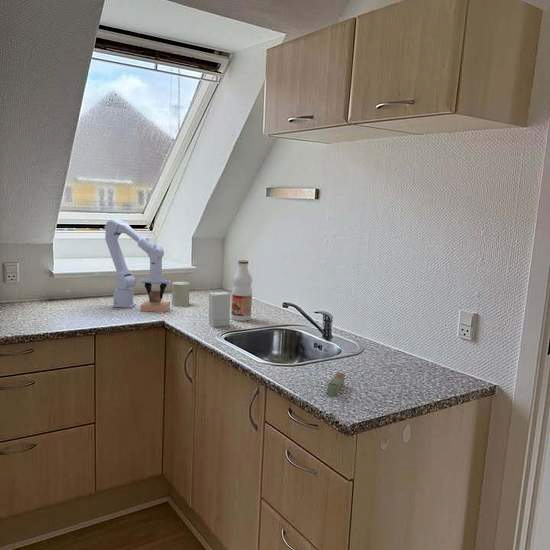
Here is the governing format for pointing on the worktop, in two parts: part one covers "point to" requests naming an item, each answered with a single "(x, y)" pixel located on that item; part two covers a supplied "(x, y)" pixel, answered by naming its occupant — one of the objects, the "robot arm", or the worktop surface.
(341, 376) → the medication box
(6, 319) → the worktop surface
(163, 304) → the tan rectangular block
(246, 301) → the fruit juice
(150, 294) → the walnut cube
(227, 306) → the skincare box
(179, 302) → the can
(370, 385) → the worktop surface
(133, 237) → the robot arm
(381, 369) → the worktop surface
